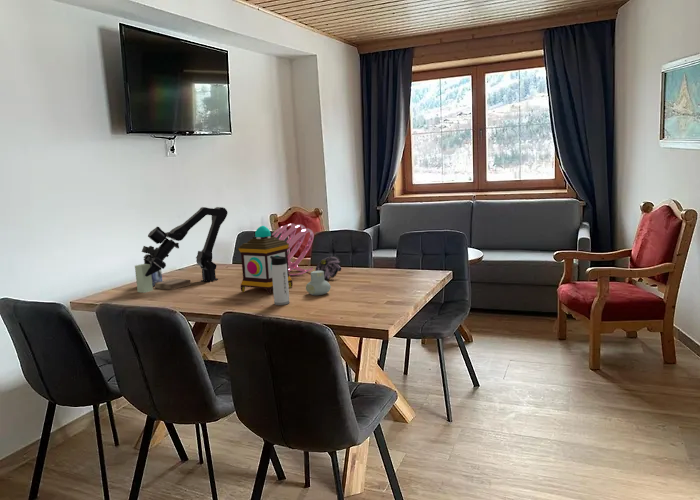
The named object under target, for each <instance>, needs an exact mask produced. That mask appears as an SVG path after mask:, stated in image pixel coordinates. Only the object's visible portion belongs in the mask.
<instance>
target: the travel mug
mask: <svg viewBox="0 0 700 500" xmlns="http://www.w3.org/2000/svg"><path fill="white" fill-rule="evenodd" d="M270 258H271V262H272V263H271V265H272V280H273V288H272V292H273V303H274V305H275V306H286V305H288V304H290V292H289V291H290V290H289V283H288V275H287V262H286V257H282V256H270Z"/></svg>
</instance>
